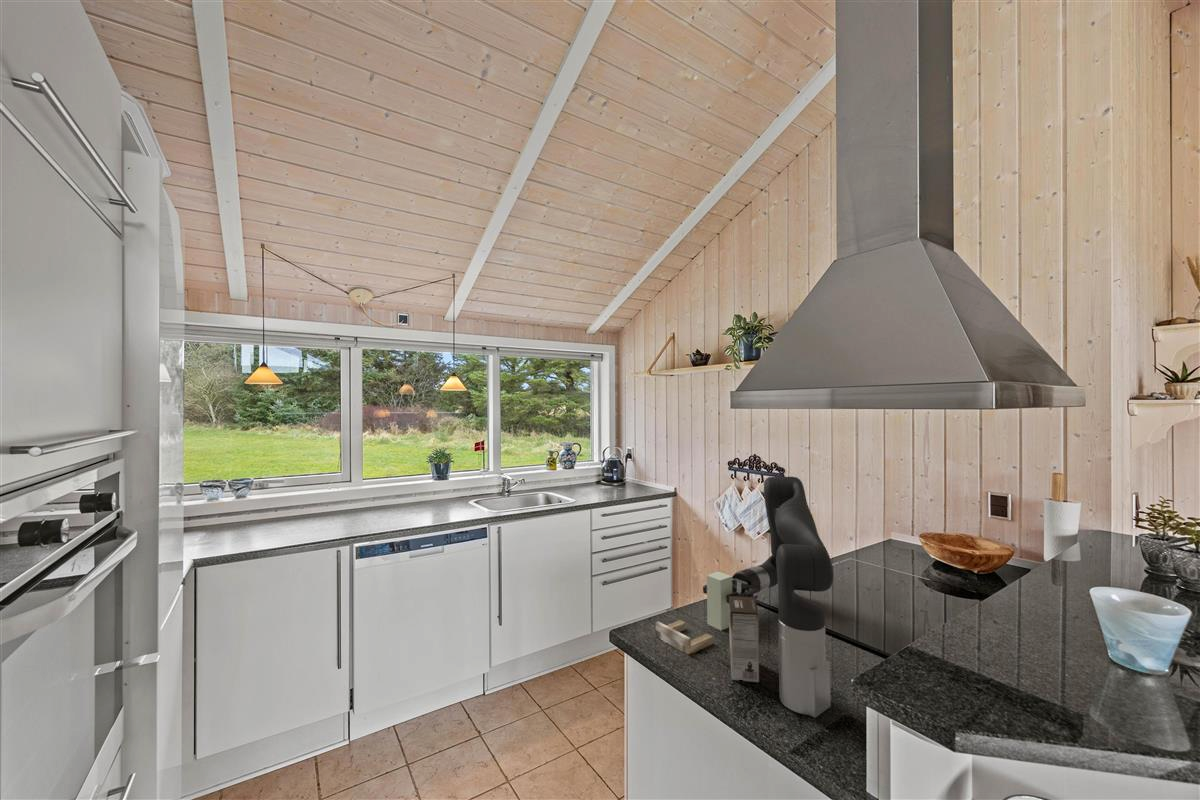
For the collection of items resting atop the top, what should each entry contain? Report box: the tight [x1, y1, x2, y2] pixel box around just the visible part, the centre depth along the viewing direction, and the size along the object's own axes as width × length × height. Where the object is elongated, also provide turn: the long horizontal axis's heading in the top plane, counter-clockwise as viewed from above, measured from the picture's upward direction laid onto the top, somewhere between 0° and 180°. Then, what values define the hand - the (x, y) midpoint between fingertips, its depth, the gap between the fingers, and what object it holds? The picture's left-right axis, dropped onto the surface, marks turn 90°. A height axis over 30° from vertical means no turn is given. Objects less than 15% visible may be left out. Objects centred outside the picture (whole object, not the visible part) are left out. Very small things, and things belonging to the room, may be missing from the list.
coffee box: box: [728, 596, 760, 683], centre depth 116 cm, size 9×6×16 cm
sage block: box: [706, 571, 733, 631], centre depth 140 cm, size 5×5×14 cm
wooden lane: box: [655, 619, 714, 656], centre depth 131 cm, size 12×9×4 cm
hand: (715, 594), depth 139 cm, fingers open, 8 cm apart
